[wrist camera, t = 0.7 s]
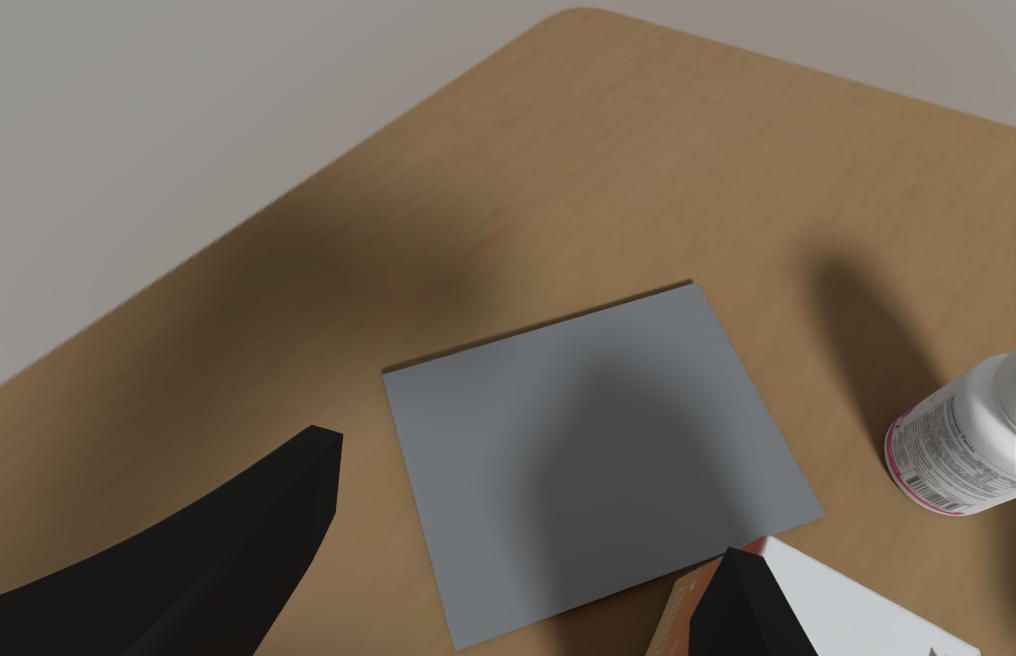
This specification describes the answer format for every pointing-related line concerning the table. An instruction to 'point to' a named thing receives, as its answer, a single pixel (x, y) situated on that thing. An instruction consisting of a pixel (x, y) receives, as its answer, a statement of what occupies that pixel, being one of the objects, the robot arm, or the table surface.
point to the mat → (589, 461)
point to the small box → (816, 611)
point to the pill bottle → (960, 442)
